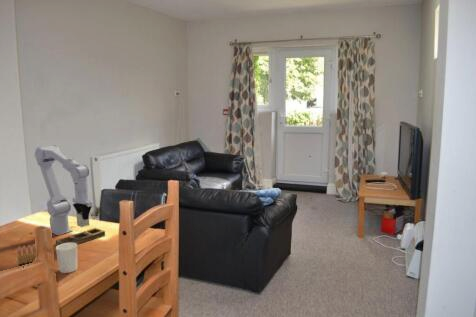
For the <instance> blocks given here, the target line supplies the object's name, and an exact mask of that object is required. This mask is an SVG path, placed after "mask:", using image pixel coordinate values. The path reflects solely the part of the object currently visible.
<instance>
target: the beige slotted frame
mask: <svg viewBox="0 0 476 317" xmlns="http://www.w3.org/2000/svg"><path fill="white" fill-rule="evenodd" d="M105 236H106V231H105V230H103V229H100V228H97V227H93V228H90V229H87V230H84V231H82V232H79V233H78V232H77V233H75V234H71V235H69V236H64V237H62V238H59V239H55V245H56V246H58V245H60V244H63V243H76V244H77V245H79V244H82V243H86V242H90V241H92V240H94V239H98V238H102V237H105Z"/></svg>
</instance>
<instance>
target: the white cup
mask: <svg viewBox="0 0 476 317" xmlns="http://www.w3.org/2000/svg"><path fill="white" fill-rule="evenodd" d="M55 252H56V258H57V265H58V270H59V273H62V274H67V273H68V274H69V273H73V272H75V271H77V270H78V244H76V243H66V242H65V243H63V244H60V245H56V246H55Z"/></svg>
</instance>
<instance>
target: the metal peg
mask: <svg viewBox="0 0 476 317" xmlns="http://www.w3.org/2000/svg"><path fill="white" fill-rule="evenodd" d="M76 225H77V226H78V227H80V228H84V227H87V226H90V217H89V218H88V219H86V220H84V219H83V215H82V212H80V213H77V212H76Z"/></svg>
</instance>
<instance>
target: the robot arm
mask: <svg viewBox="0 0 476 317" xmlns="http://www.w3.org/2000/svg"><path fill="white" fill-rule="evenodd" d="M34 157H35V159H36V162H37V166H39V168H40V171H41V174H42V177H43V179H44V183H45V185H46V188H47V191H48V195H49V200H48V201H47V202H46V206H47V207H46V208H47V214H48V215H49V216H50V217H49V227H50V228H51V229H50V228H49V229H50V230H52V232H51V234H54V235H57V236H60V235H64V234H66V233H69V232H73V229H71V228H70V226H69V224H70V223H69V215H68V214H70V211H71V210H72V206H73V207H74V209H75V211H76V213H80V212H82V215H83V219H84V220H86V219H88V218H89V219H90V217H89V216H90V212H91V210H92V208H93V202H92V201H91V200H90V199H89V190H88V177H89V175H90V169H89V168H88V166H87V165H86V164H80V163H79V162H77V161H75V160H74V158H72V157H69V158H68V157H67V156H66V155H64V154H63V153H62V152H61V150H60V148H59V147H58V146H57V145H49V146H43V147H36V149H35V152H34ZM56 161H57V162H58V163H60V164H62V168H63V169H64V170H66V171H67V172H68V173H70V176H71V178H72V183H73V185H74V186H73V187H74V195H75V196H74V197H72V202H73V203H72V204H71V203H70V201H69V199H68V197H67V196H65V195H63V194H62V192H61V190H60V187H59V183H58V181H57V178H56V174H55V172H54V168H53V164H54V163H55V162H56Z"/></svg>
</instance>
